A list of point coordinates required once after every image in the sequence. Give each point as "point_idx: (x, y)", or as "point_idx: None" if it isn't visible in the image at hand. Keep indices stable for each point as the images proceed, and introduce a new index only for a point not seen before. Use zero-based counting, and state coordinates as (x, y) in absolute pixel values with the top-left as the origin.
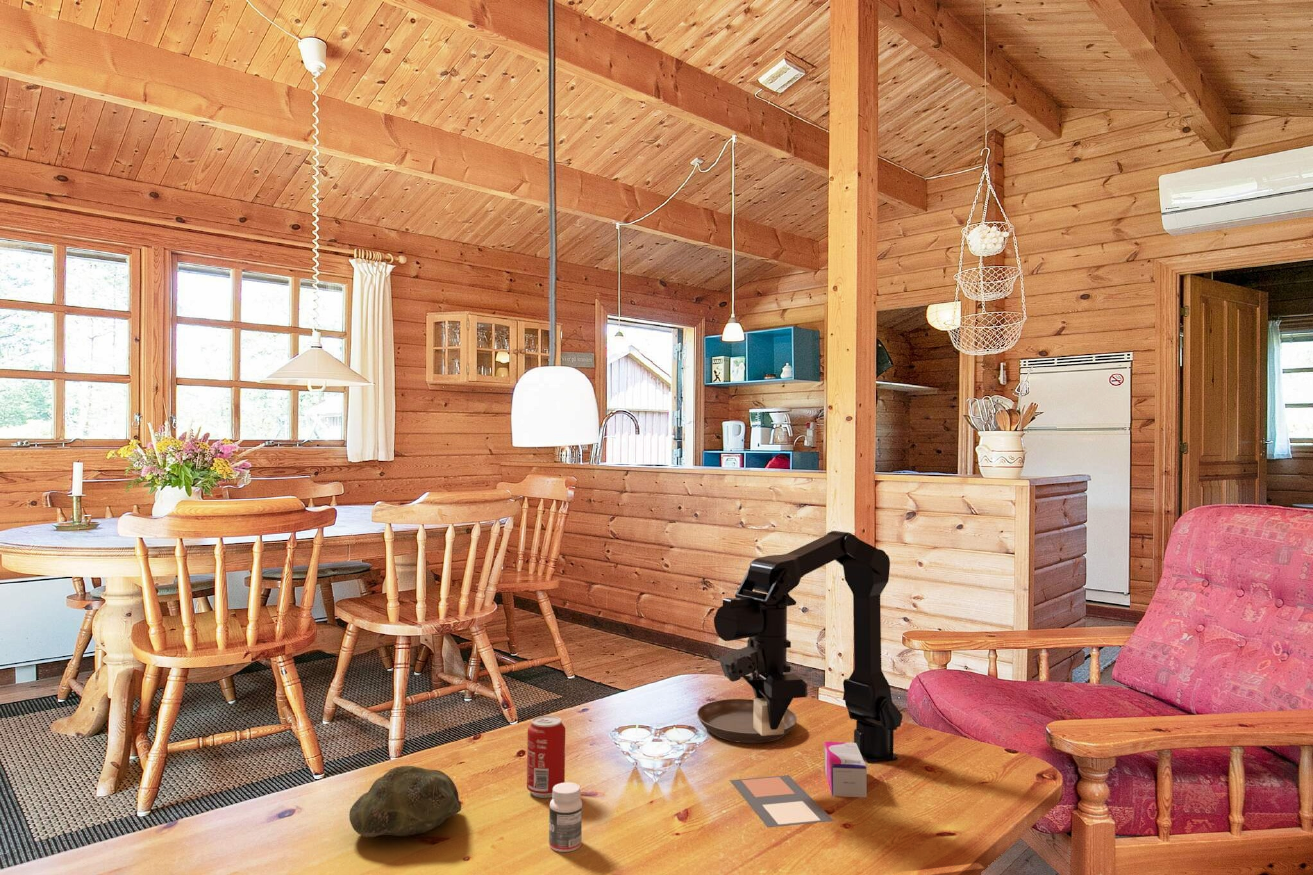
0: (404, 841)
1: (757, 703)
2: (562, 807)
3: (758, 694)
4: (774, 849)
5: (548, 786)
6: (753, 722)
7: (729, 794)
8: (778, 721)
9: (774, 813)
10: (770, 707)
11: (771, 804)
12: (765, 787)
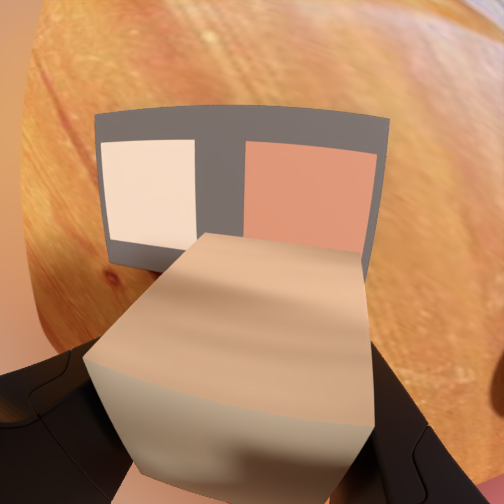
0: None
1: (223, 386)
2: None
3: (376, 494)
4: (51, 109)
5: None
6: (361, 269)
7: (312, 83)
8: None
9: (145, 152)
10: (31, 368)
11: (192, 165)
12: (302, 200)
